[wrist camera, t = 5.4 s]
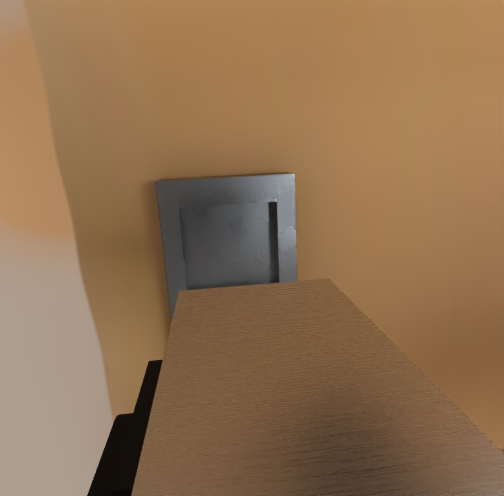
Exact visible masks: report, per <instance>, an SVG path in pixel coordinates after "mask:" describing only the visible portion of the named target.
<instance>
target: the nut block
mask: <svg viewBox="0 0 504 496" xmlns="http://www.w3.org/2000/svg"><path fill="white" fill-rule="evenodd" d="M131 496H504V453H503V452H502V451H501V450H500V449H499V448H498V447H497V446H496V445H495V444H494V443H493V442H492V441H491V440H490V439H489V438H488V437H487V436H486V435H485V434H484V433H483V432H482V431H481V430H480V429H479V428H478V427H477V426H476V425H475V424H474V423H473V422H472V421H471V420H470V419H469V418H468V417H467V416H466V415H465V414H464V413H463V412H462V411H461V410H460V409H459V408H458V407H457V406H456V405H455V404H454V403H453V402H452V401H451V400H450V399H449V398H448V397H447V396H446V395H445V394H444V393H443V392H442V391H441V390H440V389H439V388H438V387H437V386H436V385H435V384H434V383H433V382H432V381H431V380H430V379H429V378H428V377H427V376H426V375H425V374H424V373H423V372H422V371H421V370H420V369H419V368H418V367H417V366H416V365H415V364H414V363H413V362H412V361H411V360H410V359H409V358H408V357H407V356H406V355H405V354H404V353H403V352H402V351H401V350H400V349H399V348H398V347H397V346H396V345H395V344H394V343H393V342H392V341H391V340H390V339H389V338H388V337H387V336H386V335H385V334H384V333H383V332H382V331H381V330H380V329H379V328H378V327H377V326H376V325H375V324H374V323H373V322H372V321H371V320H370V319H369V318H368V317H367V316H366V315H365V314H364V313H363V312H362V311H361V310H360V309H359V308H358V307H357V306H356V305H355V304H354V303H353V302H352V301H351V300H350V299H349V298H348V297H347V296H346V295H345V294H344V293H343V292H342V291H341V290H340V289H339V288H338V287H337V286H336V285H335V284H334V283H333V282H332V281H331V280H330V279H317V280H305V281H293V282H281V283H269V284H256V285H244V286H232V287H220V288H207V289H195V290H183V291H179V293H178V297H177V301H176V305H175V310H174V314H173V318H172V323H171V327H170V331H169V336H168V340H167V344H166V349H165V353H164V357H163V361H162V366H161V370H160V374H159V379H158V383H157V387H156V392H155V396H154V400H153V404H152V409H151V413H150V417H149V422H148V426H147V430H146V435H145V439H144V443H143V447H142V452H141V456H140V460H139V465H138V469H137V473H136V478H135V482H134V486H133V490H132V495H131Z"/></svg>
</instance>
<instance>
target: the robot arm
mask: <svg viewBox="0 0 504 496" xmlns="http://www.w3.org/2000/svg"><path fill="white" fill-rule="evenodd" d="M162 361H163V360H155V361H149V363H148V366H147V369H146V373H145V376H144V379H143V383H142V386H141V389H140V393H139V396H138V399H137V403H136V406H135V409H134V413H129V414H120V415H118V416H117V417H116V419H115V421H114V423H113V426H112V429H111V432H110V434H109V438H108V440H107V443H106V445H105V448H104V451H103V454H102V457H101V459H100V462H99V465H98V468H97V470H96V473H95V476H94V478H93V481H92V484H91V487H90V489H89V492H88V495H87V496H131V495H132V490H133V486H134V482H135V478H136V473H137V469H138V465H139V460H140V456H141V452H142V447H143V443H144V439H145V435H146V430H147V426H148V422H149V417H150V413H151V409H152V404H153V400H154V396H155V392H156V387H157V383H158V379H159V374H160V370H161V366H162ZM500 450H501V451H502V452H503V453H504V449H500Z"/></svg>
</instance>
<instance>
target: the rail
mask: <svg viewBox="0 0 504 496" xmlns="http://www.w3.org/2000/svg"><path fill="white" fill-rule="evenodd" d="M155 183H156V191H157V200H158V208H159V217H160V226H161V234H162V243H163V251H164V260H165V269H166V277H167V286H168V294H169V303H170V312H171V320H172V318H173V314H174V310H175V305H176V301H177V297H178V293H179V291H183V290H195V289H207V288H220V287H232V286H244V285H256V284H269V283H281V282H293V281H297V269H296V215H295V174H293V173H287V172H285V173H267V174H249V175H232V176H214V177H196V178H178V179H161V180H158V181H156V182H155Z"/></svg>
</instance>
